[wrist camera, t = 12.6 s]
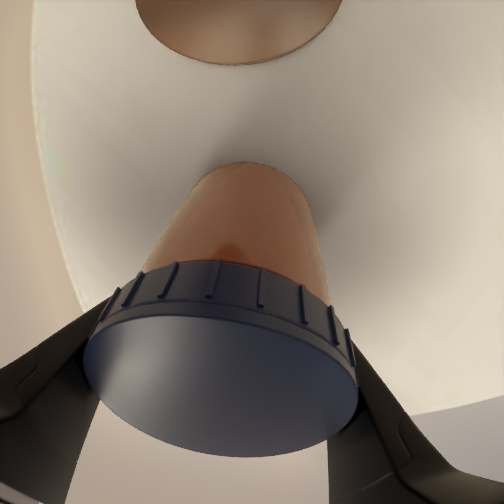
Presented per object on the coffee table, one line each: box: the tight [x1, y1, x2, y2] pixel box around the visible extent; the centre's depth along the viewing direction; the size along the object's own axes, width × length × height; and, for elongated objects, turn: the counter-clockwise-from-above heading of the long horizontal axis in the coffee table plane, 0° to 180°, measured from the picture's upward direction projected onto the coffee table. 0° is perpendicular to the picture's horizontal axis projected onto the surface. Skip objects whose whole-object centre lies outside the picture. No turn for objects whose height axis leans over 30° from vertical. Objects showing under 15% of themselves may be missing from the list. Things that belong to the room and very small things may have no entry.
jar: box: [141, 162, 331, 307], centre depth 11 cm, size 6×6×9 cm
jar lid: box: [83, 260, 359, 457], centre depth 7 cm, size 7×7×2 cm
